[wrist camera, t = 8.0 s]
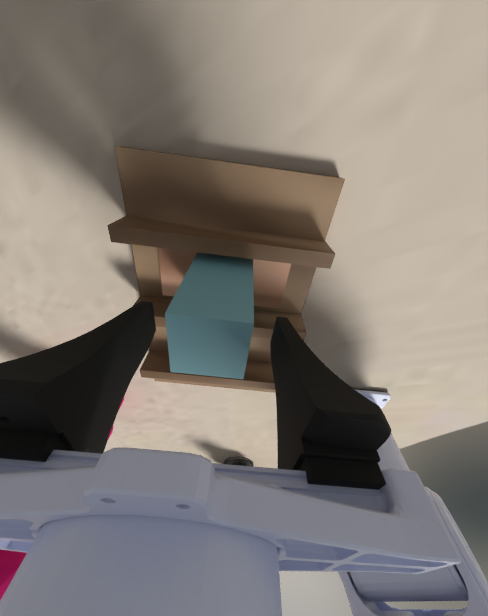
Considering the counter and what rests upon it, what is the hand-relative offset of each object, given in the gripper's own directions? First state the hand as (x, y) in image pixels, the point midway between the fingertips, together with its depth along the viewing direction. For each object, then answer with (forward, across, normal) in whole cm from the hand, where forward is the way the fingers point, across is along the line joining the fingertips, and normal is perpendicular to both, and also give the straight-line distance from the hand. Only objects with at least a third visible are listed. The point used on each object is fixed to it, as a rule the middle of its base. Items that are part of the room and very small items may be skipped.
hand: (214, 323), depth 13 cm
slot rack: (+7, 0, +3) cm, 8 cm away
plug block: (+6, 0, 0) cm, 6 cm away
